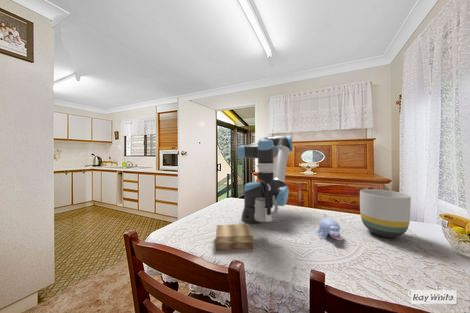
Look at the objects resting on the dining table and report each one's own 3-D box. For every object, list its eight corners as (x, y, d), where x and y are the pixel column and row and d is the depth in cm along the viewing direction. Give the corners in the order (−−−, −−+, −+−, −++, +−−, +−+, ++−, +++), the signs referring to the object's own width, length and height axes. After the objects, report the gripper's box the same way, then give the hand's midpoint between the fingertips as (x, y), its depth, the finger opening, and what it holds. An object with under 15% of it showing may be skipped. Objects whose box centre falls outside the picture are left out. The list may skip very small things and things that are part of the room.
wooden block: (248, 235, 87) (248, 223, 87) (253, 248, 75) (253, 235, 75) (216, 237, 86) (216, 225, 86) (216, 250, 74) (216, 236, 74)
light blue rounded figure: (323, 244, 79) (323, 223, 79) (314, 230, 94) (314, 212, 94) (349, 246, 77) (349, 225, 77) (335, 231, 92) (335, 213, 92)
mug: (254, 215, 90) (254, 193, 89) (277, 216, 88) (277, 193, 88) (253, 222, 82) (253, 197, 82) (279, 223, 80) (279, 197, 80)
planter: (399, 230, 93) (399, 191, 93) (419, 248, 76) (419, 199, 75) (356, 224, 101) (356, 188, 101) (364, 239, 84) (365, 195, 83)
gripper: (253, 169, 94) (254, 210, 95) (263, 174, 74) (263, 227, 75) (267, 169, 95) (267, 210, 96) (280, 174, 75) (280, 226, 76)
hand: (265, 217), depth 85 cm, fingers closed on mug, 7 cm apart
